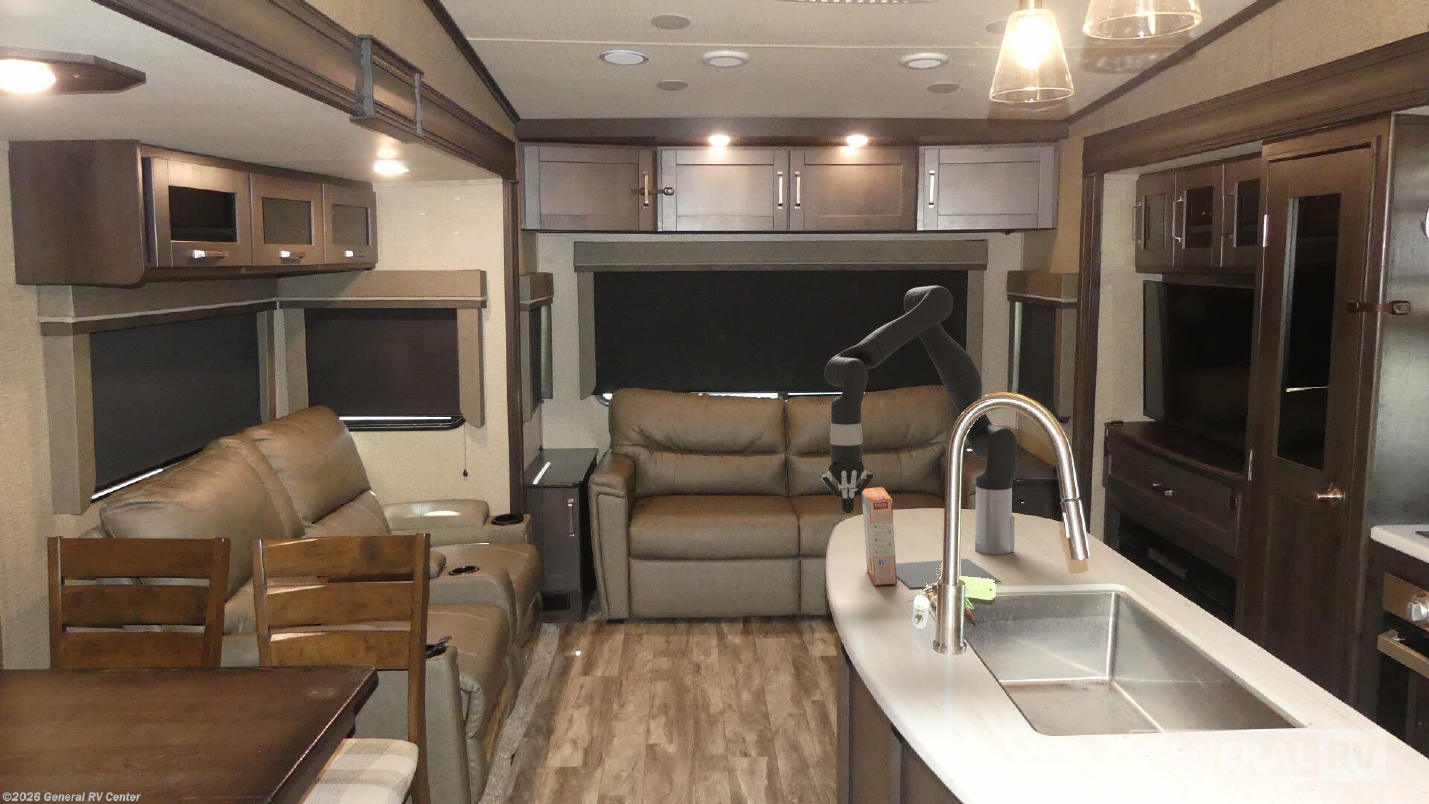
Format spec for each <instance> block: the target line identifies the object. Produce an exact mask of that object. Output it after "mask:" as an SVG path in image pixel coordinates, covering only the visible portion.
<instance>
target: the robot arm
mask: <svg viewBox="0 0 1429 804" xmlns="http://www.w3.org/2000/svg"><path fill="white" fill-rule="evenodd" d="M953 308H954V298H953V295H952V293H951V291H950V290H949V289H947V288H946V287H944V286H940V285H928V286H919V287H914V288H911V289H909V290H908V291H907V292H906V293H905V295H904V297H903V309H904V314H903V315H901V316H900V317H897V318H896V319H894V320H892V321H890V322H888V323H886V324H883V325H882V326H880V327H879V328H877V329H875V330H874V331H873V332H871V333H870V334H868V335H867V336H866V337H864V338H863V339H862V340H861V341H860V342H858V343H857V344H856V345H853V346H851V347H849V348H847V349H845V350H843V351H840V353H837V354H836V355H834V356H833V357H831V358H830V360H828V362H827V363H826V365H825V367H824V371H823V373H824V379H825V381H826V382H827V383H828V384H829V385H830V386H834V387H839V388H842V391H841V395H840V397H839V396H838V397H836V398H834V399H832V400H831V401H832V402H831V405H830V407H831V412H830V414H831V416H830V417H831V419H830V420H831V421H830V422H831V425H830V436H829V437H830V465H829V467H828V471H827V472H826V473H824V474H821V475H820V480H821V481H822V482H823V483H824V485H825V486H826V487H827V488H828V489H829V490H830V492H831V493H832V494H833V495H834V496H835V497H839V499H840V509H841V511H843V514H852V511H854V508H855V507H854V506H855V505H854V502H855V501H854V500H855V499H854V498H855V497H857V496H860V495H862V492H863V490H864V489H867V486H868V485H869V483H870V482H871V481H872V479H873V478H874V475H873V473H871V472H870V471H867V470H866V469H865V468H866V467H865V465H864V464H863V463H864V462H863V441H864V439H863V438H864V437H863V428H862V402H863V399H864V395H865V393H866V387H867V383H868V370H870V369H874V368H877V367H878V366H879V365H881V364H882V363H883V362H885V360H887V358H889V357H890V356H892V355H893V354H894V353H895V352H896V351H897V350H898V349H900V348H901V347H903V346H904V345H905V344H907V343H908V342H909V341H911V340H913V339H914V338H916V337H917V336H918V338H919V339H920V341H921V343H922V344H923V346H924V348H925V349H926V351H927V354H928V356H929V357H930V359H931V361H932V363H933V365H934V368H935V369H936V371H937V373H938V376H939V378H940V381H941V382H942V384H943V387H944V388H945V390H946V392H947V394H948V396H949V398H950V401H951V402H952V404H953V407H954V409H955V410H956V413H957V415H958V417H959V416H960V415H961V413H962V412H963V411H964V410H965V409H966V408H967V407H968V406H970V405H971V404H972V403H973V402H975V401H977V400H978V399H981V397H983V396H982V395H983V382H982V378H981V374H980V373H979V371H978V369H977V367H976V364H975V362H974V361H973V358H972V356H970V354H969V353H968V352H967V351H966V350H965V349H964V348H963V347H962V346H961V345H960V344H959V343H958V342H957V341H955V340H954V339H953V338H952V337H951V336H950V335H949V334H948V333H947V332H946V330H945V329H944V327H943V326H942V324H941V323H942V322H943V321H946V320H947V318H949V317H950V315H951V313H952V311H953ZM966 439H967V441H968V444H969V447H970V449H971V450H972V452H973V454H974V455H976V456H977V457H978V458H981V459H982V460H986V467H985V471H984V472H981V473H979V474H977V475H976V478H975V517H974V518H975V523H974V524H975V526H974V527H975V528H974V529H975V530H974V532H975V534H974V539H975V540H974V550H975V551H976V552H978V553H980V554H986V555H993V556H994V555H998V556H999V555H1006V554H1009V553H1014V552H1015V527H1016V526H1015V525H1016V524H1015V522H1016V517H1015V515H1012V513H1013V510H1012V509H1013V506H1012V504H1013V498H1012V497H1013V481H1014V479H1015V476H1016V471H1017V458H1018V457H1017V456H1018V454H1017V453H1018V442H1017V436H1016V434H1015V432H1014V431H1013V430H1011V429H1010V428H1007V427H1004V426H999V425H995V424H993V423H992V422H991V420H990V418H989V417H988V414H987V413H986V414H984V415H982V416H981V417H979V418H978V420H976V421H975V423H974V424H973V426H972V427H971V428H970V431H969V433H968V434H967V436H966ZM833 478H834V480H835V481H836V482H837V485H838V489H837V487H836V486H835V485H834V483H833V482H832V481H833ZM859 479H860V481H858V480H859ZM857 481H858V483H857ZM856 483H857V485H856Z"/></svg>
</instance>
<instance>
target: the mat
mask: <svg viewBox="0 0 1429 804" xmlns="http://www.w3.org/2000/svg"><path fill="white" fill-rule="evenodd" d="M960 559H961V576H968V577H981V578H989V579H993V580H995V582H1001V583H1002V581H1001V580H1000V579H998V578H997V577H996V576H995V575H993V574H991V573H990V572H988V571H987V570H985V569H984V568H982V567H981V566H979V565H978V564H976V563H975V562H973V561H972V560H970V559H969V558H960ZM941 563H942V559H940V560H928V561H915V562H898V563H897V562H896V572H897V580H899V581H900V580H901V581H900V582H901V583H903V585H905V586H906V585H907V586H908V587H909V588H908V587H907V586H906V587H907V588H908V589H910V590H916V589H918V590H919V589H924V588H923V587H924V586H926V585H927V584H928V585H929V584H932V583H936V582H937V581H938V580H939V577H940V576H941V569H940V570H939V568H941ZM939 565H940V566H939ZM936 568H937V569H936ZM936 571H937V572H936ZM936 574H939V575H936ZM937 577H938V578H937ZM926 583H927V584H926ZM913 588H914V589H913Z"/></svg>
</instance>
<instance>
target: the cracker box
mask: <svg viewBox="0 0 1429 804" xmlns="http://www.w3.org/2000/svg"><path fill="white" fill-rule="evenodd" d="M861 499H862V500H861V501H862V515H863V529H864V542H865V543H864V544H865V560H866V570H867V572H868V575H869V578H870V579H871V582H872V584H873V586H886V585H888V586H889V585H898V578H897V572H896V563H897V560H896V557H897V556H896V544H895V531H894V530H895V529H894V528H895V527H894V512H893V499H892V498H891V496H890V495H889V494H888V492H887V490H886V489H885V488H884V487H868V488H865V489H864V490H863V492H862V493H861Z"/></svg>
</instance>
